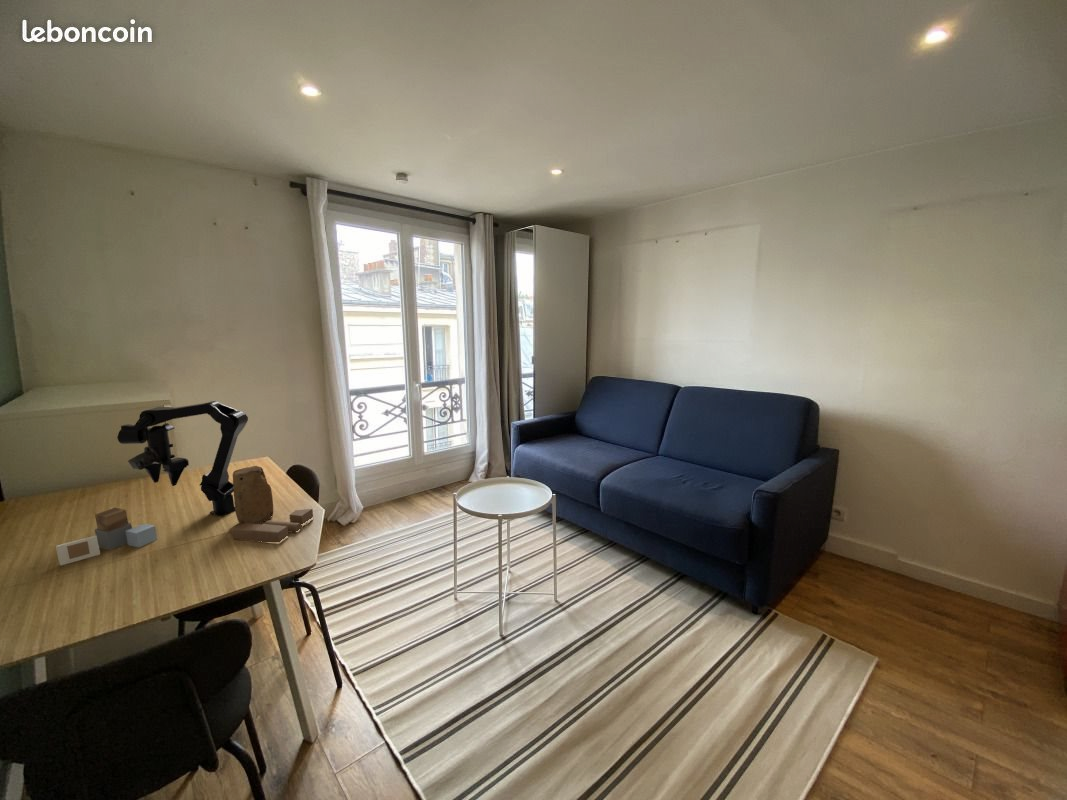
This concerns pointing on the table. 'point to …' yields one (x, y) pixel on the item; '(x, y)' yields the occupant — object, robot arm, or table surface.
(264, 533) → the wooden block set
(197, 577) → the table surface
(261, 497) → the block
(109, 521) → the walnut cube
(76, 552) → the placard
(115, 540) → the base block
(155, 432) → the robot arm
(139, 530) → the slate cube
